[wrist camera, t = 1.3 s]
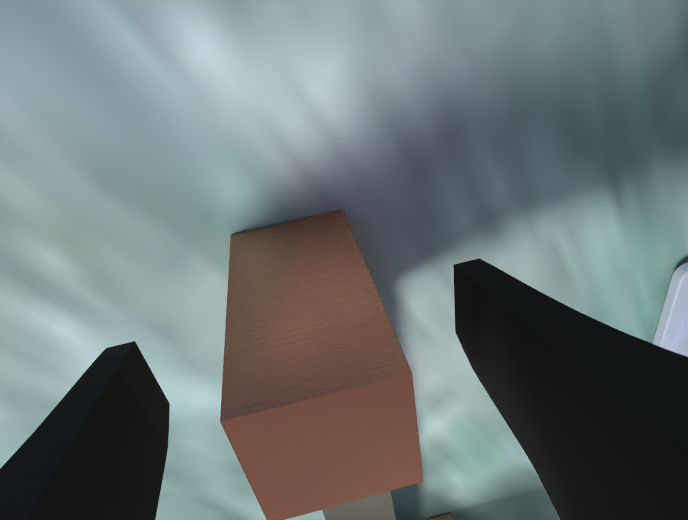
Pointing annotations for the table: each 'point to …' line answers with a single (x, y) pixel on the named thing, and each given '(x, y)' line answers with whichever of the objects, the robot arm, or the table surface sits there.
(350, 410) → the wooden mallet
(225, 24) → the table surface
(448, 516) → the wooden bridge block
